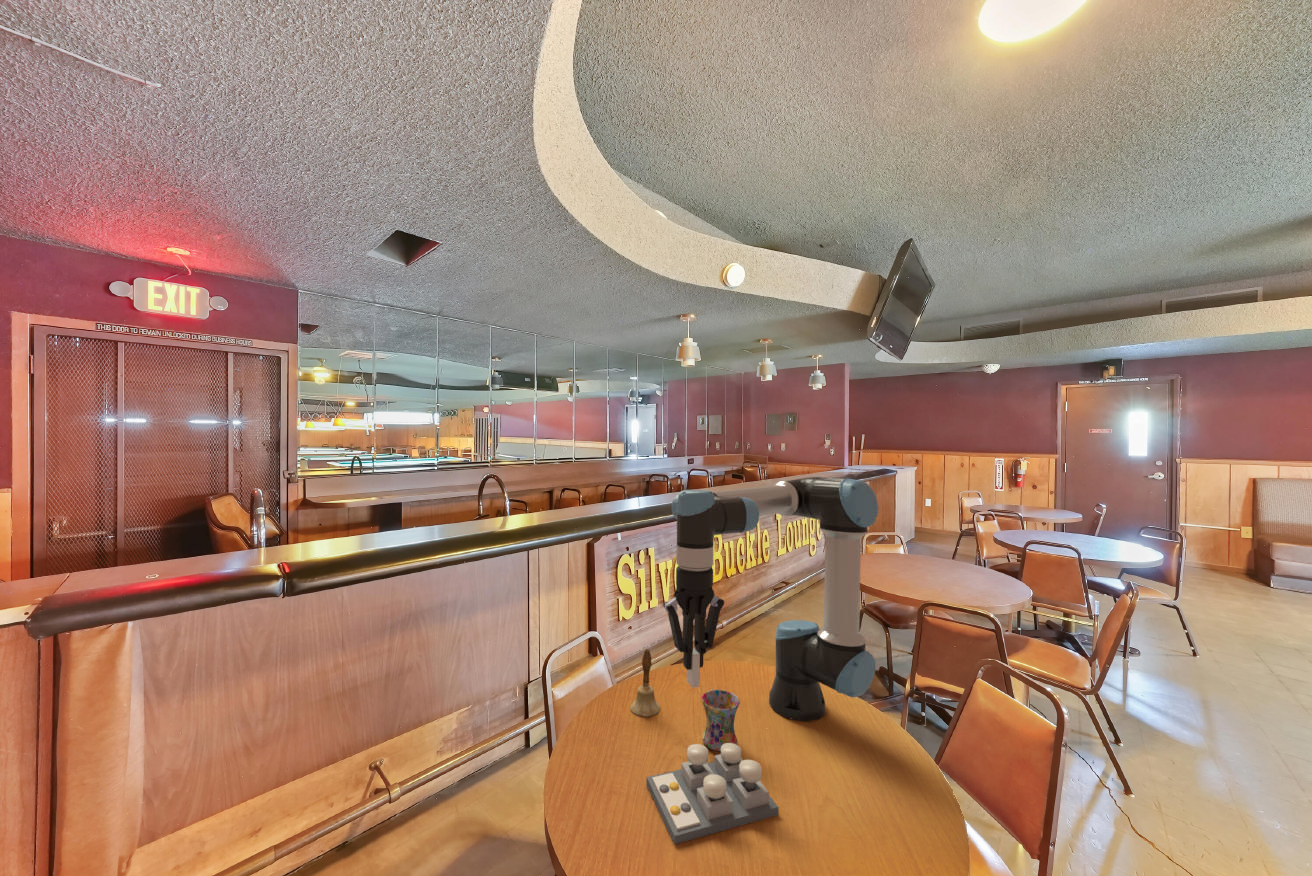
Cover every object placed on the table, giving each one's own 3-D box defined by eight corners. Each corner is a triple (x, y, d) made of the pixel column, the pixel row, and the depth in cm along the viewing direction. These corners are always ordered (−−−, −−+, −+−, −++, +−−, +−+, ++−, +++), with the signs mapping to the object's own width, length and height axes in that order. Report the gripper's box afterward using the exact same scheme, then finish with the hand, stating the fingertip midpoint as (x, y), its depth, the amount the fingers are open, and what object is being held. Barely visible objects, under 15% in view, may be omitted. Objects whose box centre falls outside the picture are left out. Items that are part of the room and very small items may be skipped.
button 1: (734, 759, 104) (734, 741, 104) (744, 771, 100) (745, 753, 100) (717, 763, 102) (717, 745, 103) (726, 776, 98) (726, 757, 98)
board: (737, 762, 106) (737, 745, 106) (778, 814, 91) (778, 794, 91) (646, 784, 99) (646, 766, 99) (674, 844, 84) (674, 822, 84)
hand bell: (642, 697, 134) (643, 641, 134) (666, 707, 129) (667, 648, 130) (624, 710, 127) (625, 651, 128) (648, 720, 122) (649, 659, 123)
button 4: (719, 791, 94) (719, 772, 94) (729, 807, 90) (730, 787, 90) (699, 796, 92) (699, 776, 92) (709, 813, 88) (709, 792, 88)
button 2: (753, 776, 96) (754, 757, 97) (765, 791, 92) (765, 771, 92) (735, 781, 95) (735, 762, 95) (746, 796, 91) (746, 776, 91)
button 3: (702, 760, 101) (702, 742, 101) (711, 773, 97) (711, 754, 97) (683, 764, 100) (684, 746, 100) (692, 778, 96) (692, 759, 96)
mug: (741, 756, 108) (741, 710, 109) (701, 754, 109) (702, 708, 109) (735, 726, 120) (735, 685, 121) (699, 724, 121) (700, 683, 121)
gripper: (714, 560, 100) (713, 670, 99) (658, 564, 96) (656, 680, 95) (732, 568, 93) (730, 687, 92) (672, 573, 89) (670, 698, 88)
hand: (693, 683), depth 94 cm, fingers closed
